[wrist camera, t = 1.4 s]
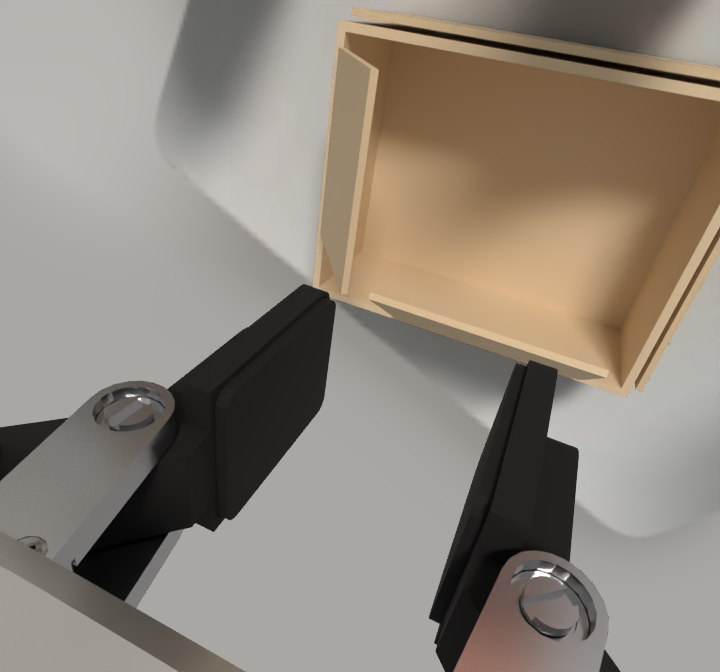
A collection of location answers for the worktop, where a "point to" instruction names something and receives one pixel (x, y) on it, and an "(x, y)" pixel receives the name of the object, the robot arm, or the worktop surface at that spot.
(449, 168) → the carton
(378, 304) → the side flap
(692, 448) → the worktop surface
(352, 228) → the end flap
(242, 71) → the worktop surface
